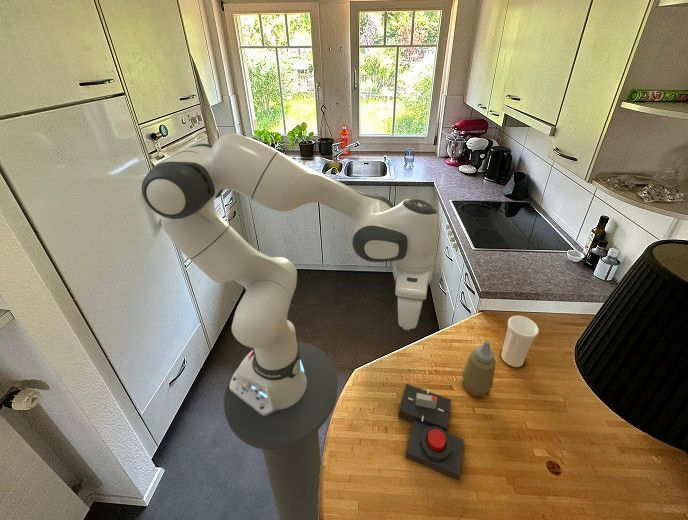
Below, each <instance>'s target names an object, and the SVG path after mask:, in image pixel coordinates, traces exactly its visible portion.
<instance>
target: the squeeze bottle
mask: <svg viewBox="0 0 688 520" xmlns="http://www.w3.org/2000/svg"><path fill="white" fill-rule="evenodd" d="M496 363H497V361H496V358H495V353H494V350H493V349H492V348H491V342H490V340H489V339H488V340H485V341H484V342H483V343H482V344H479V345H477V346H476V347H475V349H473V350H471V352H470V354H469V356H468V358H467V360H466V363H465V365H464V368H463V370H462V374H461V375H462V380H463V384H464V388H465V389H466V391H467V392H468V393H469V394H470V395H473V396H475V397H481V396H484V395H485V394H487V393H488V392H489V391H490V390H491V389H492V388H493V384H494V377H495V370H496Z"/></svg>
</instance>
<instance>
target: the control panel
mask: <svg viewBox="0 0 688 520" xmlns="http://www.w3.org/2000/svg"><path fill="white" fill-rule="evenodd" d="M417 393H420V394H425V395H431V396H436V397H437V404H436V409H432V408H427V407H422V406H416V396H417ZM451 403H452V399H451V398H448V397H445V396H442V395H440V394H436V393H433V392H431V391H430V389H429V388H427V390H426V389H423V388H419V387H417V386H414V385H411V384H408V383H406V384H405V387H404V391H403V395H402V399H401V402H400V406H399V410H398V418H399V419H402V420H405V421H407V422H410V423H412V424H413V421H414V420H415V421H418V422H420V423H423V424H425V425H428V426H430V427H431V426H436V427H439V428H442V429H443V430H444V431H445V432H446V433H447V430H448V424H449V418H450V411H451Z"/></svg>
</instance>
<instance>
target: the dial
mask: <svg viewBox="0 0 688 520" xmlns="http://www.w3.org/2000/svg"><path fill="white" fill-rule="evenodd" d="M436 404H437V397H436V396H431V395H425V394H420V393H417V396H416V406H422V407H427V408H432V409H436Z"/></svg>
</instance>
